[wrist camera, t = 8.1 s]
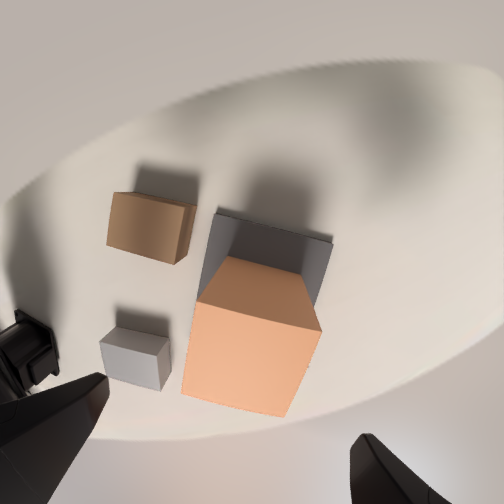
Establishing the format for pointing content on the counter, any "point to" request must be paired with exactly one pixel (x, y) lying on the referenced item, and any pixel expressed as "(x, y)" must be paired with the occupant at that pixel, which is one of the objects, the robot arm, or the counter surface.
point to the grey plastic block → (136, 358)
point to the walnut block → (150, 226)
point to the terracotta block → (251, 338)
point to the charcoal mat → (265, 251)
